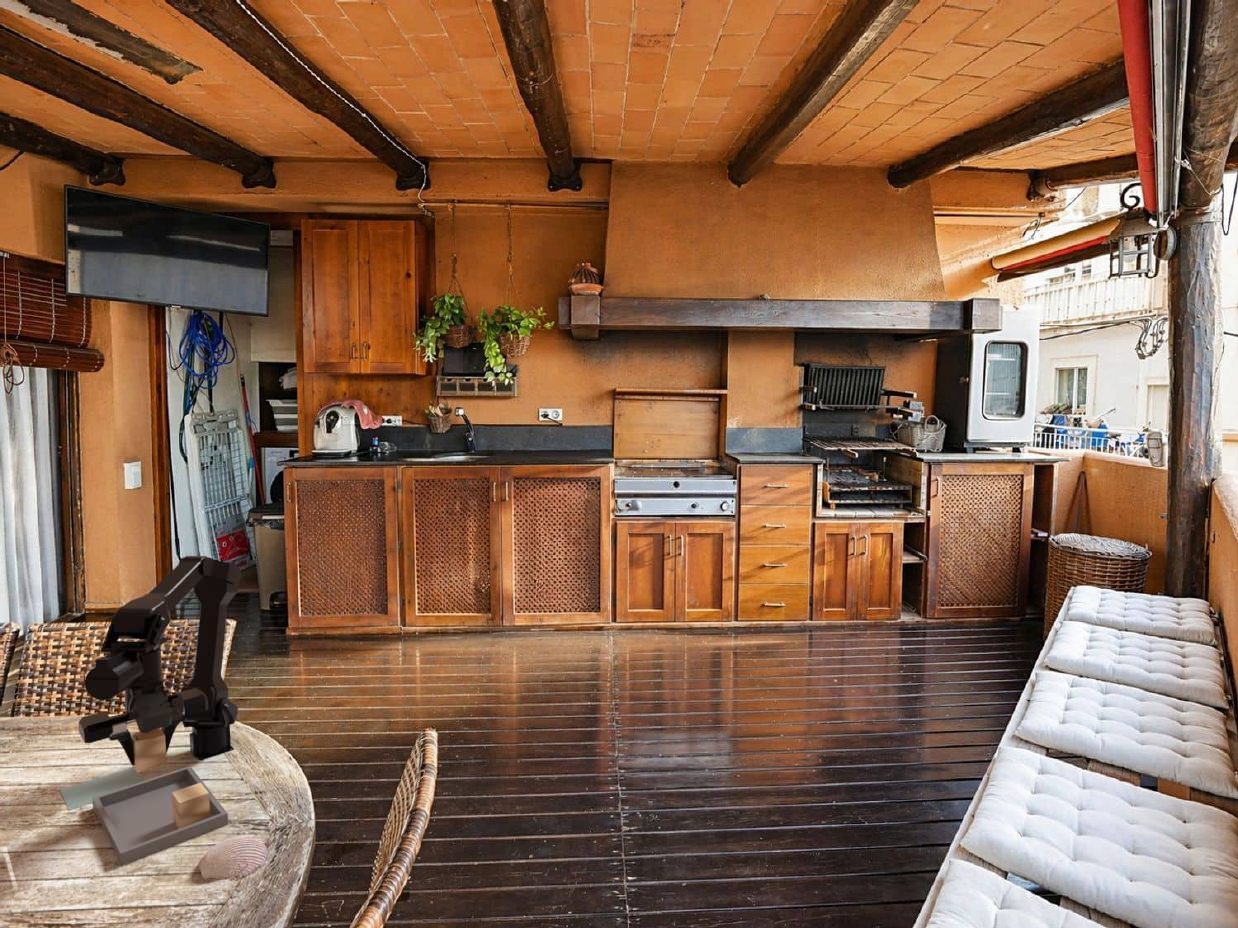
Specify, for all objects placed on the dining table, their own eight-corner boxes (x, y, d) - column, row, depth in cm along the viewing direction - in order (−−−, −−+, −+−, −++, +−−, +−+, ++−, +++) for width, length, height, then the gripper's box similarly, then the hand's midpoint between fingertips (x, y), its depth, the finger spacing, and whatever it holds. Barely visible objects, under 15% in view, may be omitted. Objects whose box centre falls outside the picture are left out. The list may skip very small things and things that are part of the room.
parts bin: (190, 777, 142) (190, 765, 142) (228, 826, 127) (227, 813, 127) (93, 810, 131) (92, 797, 131) (121, 868, 116) (120, 853, 116)
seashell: (176, 858, 114) (231, 811, 123) (186, 885, 116) (239, 837, 125) (223, 874, 110) (275, 825, 119) (232, 902, 112) (283, 852, 121)
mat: (135, 768, 145) (135, 766, 145) (147, 786, 139) (147, 784, 139) (60, 792, 137) (59, 789, 137) (69, 812, 131) (68, 810, 130)
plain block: (202, 811, 131) (200, 782, 130) (210, 822, 127) (208, 792, 127) (173, 822, 127) (171, 792, 127) (181, 833, 124) (179, 803, 124)
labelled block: (160, 754, 135) (158, 725, 134) (166, 763, 132) (164, 733, 131) (131, 763, 132) (129, 733, 131) (137, 773, 128) (135, 742, 128)
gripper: (88, 706, 117) (94, 798, 119) (215, 674, 131) (220, 757, 132) (74, 685, 125) (81, 771, 127) (196, 657, 138) (201, 735, 140)
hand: (148, 759), depth 131 cm, fingers closed on labelled block, 4 cm apart
